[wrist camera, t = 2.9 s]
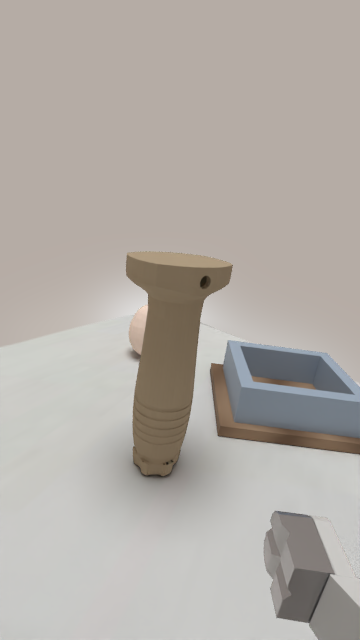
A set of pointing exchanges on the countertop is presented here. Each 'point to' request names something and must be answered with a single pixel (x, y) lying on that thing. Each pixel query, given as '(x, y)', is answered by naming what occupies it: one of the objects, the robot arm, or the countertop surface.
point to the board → (266, 433)
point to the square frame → (291, 390)
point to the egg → (138, 329)
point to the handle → (169, 349)
